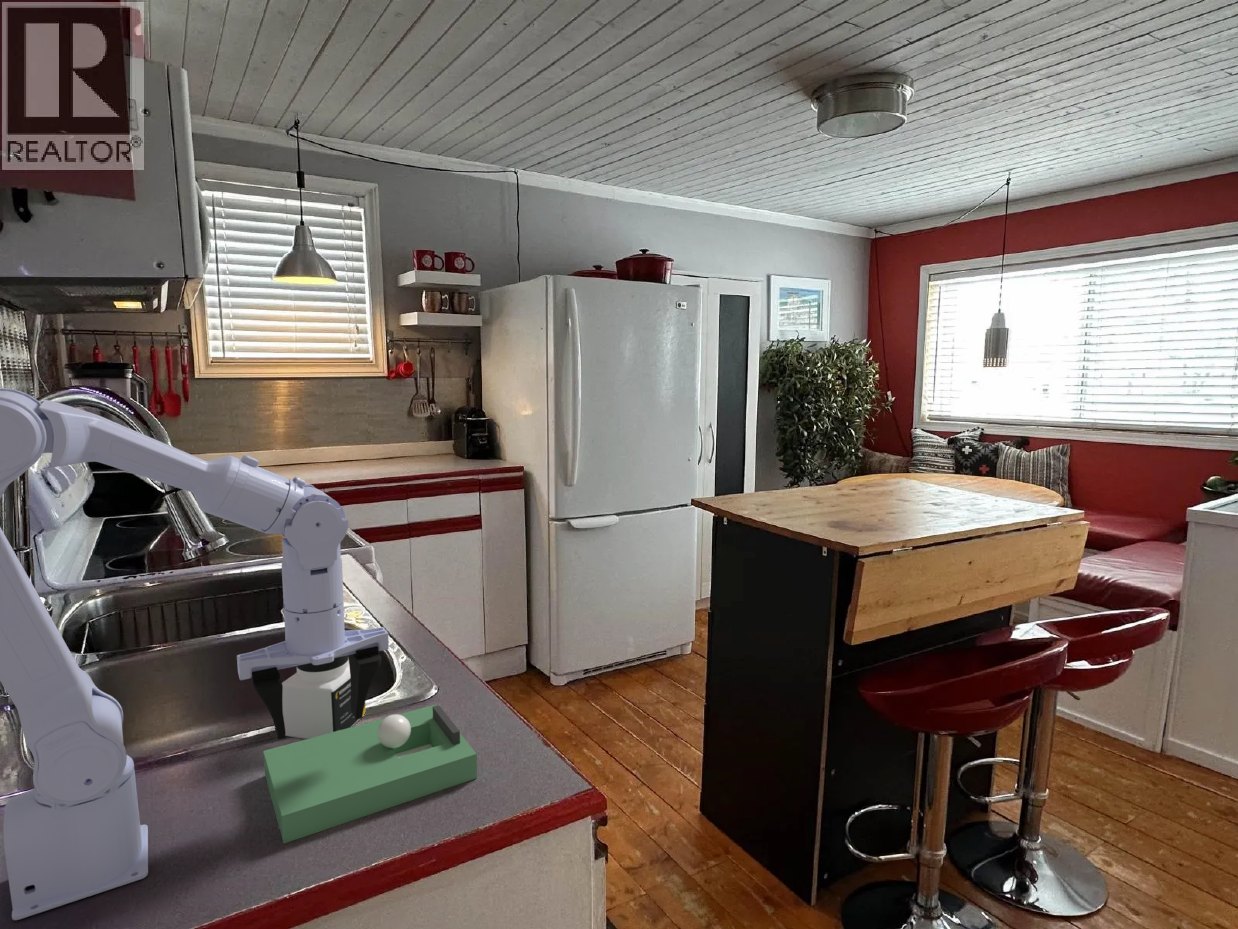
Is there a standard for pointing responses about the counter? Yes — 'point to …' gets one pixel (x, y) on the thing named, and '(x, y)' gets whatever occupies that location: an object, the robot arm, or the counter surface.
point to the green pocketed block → (363, 772)
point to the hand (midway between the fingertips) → (319, 724)
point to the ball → (394, 731)
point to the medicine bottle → (318, 699)
